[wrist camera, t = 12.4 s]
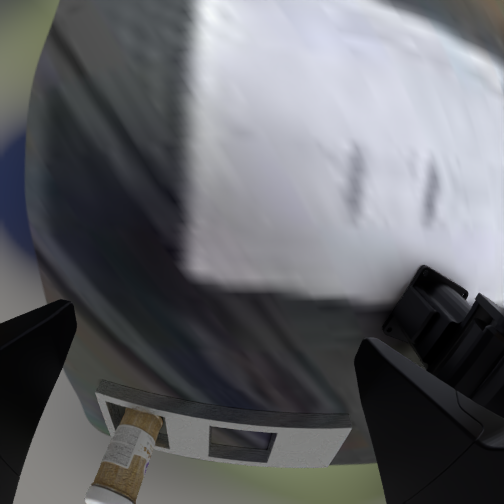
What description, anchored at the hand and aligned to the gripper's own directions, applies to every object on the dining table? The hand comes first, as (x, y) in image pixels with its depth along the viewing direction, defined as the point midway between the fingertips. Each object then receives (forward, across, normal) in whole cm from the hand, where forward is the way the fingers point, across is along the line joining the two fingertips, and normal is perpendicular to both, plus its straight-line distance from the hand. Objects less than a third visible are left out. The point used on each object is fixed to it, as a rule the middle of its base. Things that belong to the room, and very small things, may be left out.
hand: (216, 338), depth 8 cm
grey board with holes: (+12, -2, +23) cm, 26 cm away
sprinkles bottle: (+13, +7, +23) cm, 27 cm away
